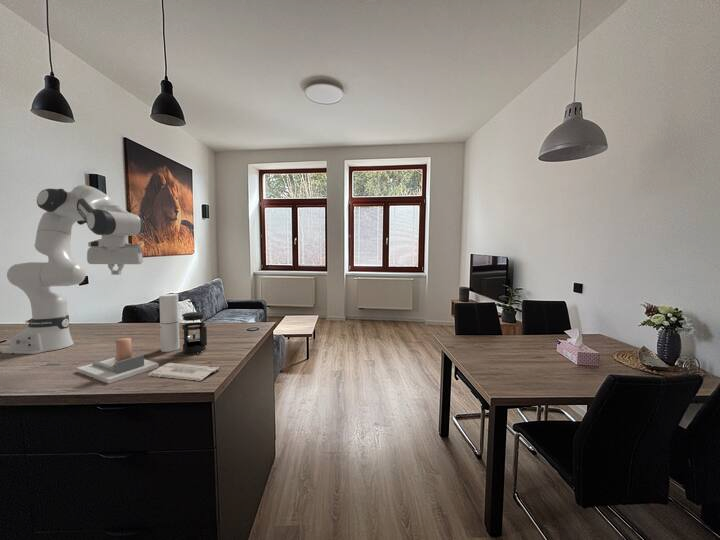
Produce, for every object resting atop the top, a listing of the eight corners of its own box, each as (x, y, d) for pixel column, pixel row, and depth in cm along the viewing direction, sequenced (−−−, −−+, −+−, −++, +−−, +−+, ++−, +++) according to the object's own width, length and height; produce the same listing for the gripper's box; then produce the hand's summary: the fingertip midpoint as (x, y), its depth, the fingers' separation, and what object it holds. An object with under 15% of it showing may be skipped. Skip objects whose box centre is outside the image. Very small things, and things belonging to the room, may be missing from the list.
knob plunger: (113, 367, 107) (111, 340, 106) (128, 363, 111) (127, 336, 111) (120, 370, 104) (119, 342, 104) (136, 365, 109) (135, 338, 108)
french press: (175, 352, 128) (174, 301, 127) (194, 346, 137) (193, 298, 136) (196, 356, 125) (195, 302, 123) (213, 349, 134) (213, 299, 132)
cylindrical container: (170, 352, 129) (168, 296, 127) (156, 351, 130) (155, 295, 129) (183, 347, 136) (181, 294, 134) (170, 346, 137) (168, 293, 136)
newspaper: (224, 369, 112) (223, 363, 112) (201, 387, 100) (200, 380, 100) (173, 364, 116) (172, 358, 116) (145, 380, 105) (145, 373, 104)
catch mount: (77, 371, 107) (76, 357, 107) (126, 357, 122) (126, 344, 121) (108, 383, 98) (108, 367, 97) (158, 367, 112) (158, 353, 112)
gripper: (145, 243, 133) (146, 274, 134) (94, 243, 130) (95, 274, 131) (137, 243, 127) (138, 275, 128) (83, 242, 123) (85, 275, 124)
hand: (116, 274), depth 129 cm, fingers closed
